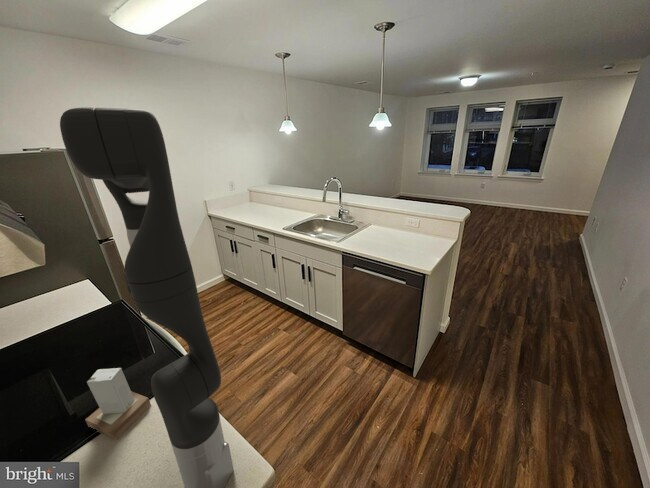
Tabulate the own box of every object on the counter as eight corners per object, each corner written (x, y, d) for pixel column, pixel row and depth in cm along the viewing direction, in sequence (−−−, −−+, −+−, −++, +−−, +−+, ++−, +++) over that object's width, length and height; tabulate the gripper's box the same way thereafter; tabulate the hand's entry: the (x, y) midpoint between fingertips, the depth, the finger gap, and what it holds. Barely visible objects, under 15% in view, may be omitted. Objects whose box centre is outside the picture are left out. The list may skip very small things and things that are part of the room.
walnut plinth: (150, 405, 76) (148, 397, 75) (115, 440, 68) (112, 431, 67) (125, 395, 79) (122, 387, 78) (88, 427, 71) (85, 419, 69)
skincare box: (135, 398, 75) (123, 366, 71) (125, 414, 71) (112, 380, 66) (111, 400, 74) (98, 367, 70) (100, 415, 70) (85, 381, 66)
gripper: (131, 254, 62) (148, 312, 68) (180, 235, 75) (190, 285, 80) (108, 250, 64) (126, 307, 70) (159, 232, 77) (171, 281, 83)
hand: (160, 295), depth 75 cm, fingers open, 8 cm apart
